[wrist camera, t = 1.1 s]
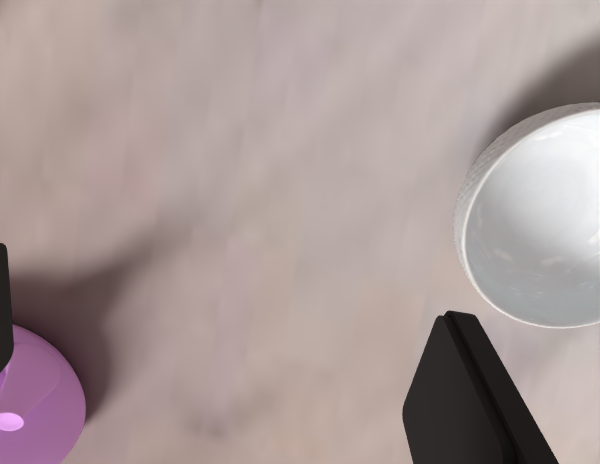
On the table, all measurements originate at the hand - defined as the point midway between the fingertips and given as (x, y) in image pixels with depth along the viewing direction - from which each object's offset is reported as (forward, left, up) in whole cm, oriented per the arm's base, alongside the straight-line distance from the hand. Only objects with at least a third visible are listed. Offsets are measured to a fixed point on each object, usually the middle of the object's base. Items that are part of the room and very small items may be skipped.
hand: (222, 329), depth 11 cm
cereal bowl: (-18, +15, -29) cm, 37 cm away
